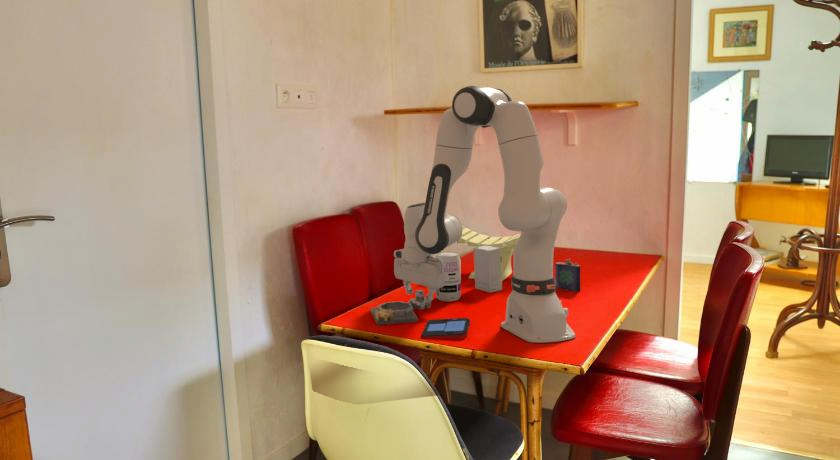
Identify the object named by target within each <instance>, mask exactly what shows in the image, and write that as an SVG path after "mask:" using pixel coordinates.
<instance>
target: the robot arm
mask: <svg viewBox="0 0 840 460" xmlns="http://www.w3.org/2000/svg"><path fill="white" fill-rule="evenodd" d="M479 128H482V129H483V128H492V129H493V130H494V131H495V135H496V140H497V144H498V149H499V153H500V158H501V162H502V168H503V174H504V175H503V176H504V185H503V186H504V187H503V195H502V199H501V202H500V203H499V205H498V210H497V215H498V220H499V221H500V223H501V225H502V226H503V227H504V228H505V229H507V230H509V231H512V232H520V234H521V235H520V238H519V240H518V242H517V244H516V245H515V248H514V251H513V254H512V256H513V257H512V260H513V270H512V273H513V275H511V276H512V277H511V281H510V282H511V289H512V291H511V293H510V294H509V295H508V297H506V298H507V299H506V305H505V306H506V307H505V320H504V321H502V322H501V324H500V327H501V328H502V329H504V330H506V331H507V332H510V333H511V334H513V335H515V336H517V337H518V338H520V339H522V340H524V341H526V342H529V343H555V342H562V341H567V340H569V341H570V340H572V339H574V338H576V333H575V332H574V330H573V329H572V328H571V327H570V325H569V324H568V323H567V317H569V309H568V308H567V307H563V305H562V304H563V302H562V300H560V298H559V297H558V295H557V293H556V291H557V288H556V287H555V285H556V284H555V276H554V250H555V244H556V239H557V236H558V232H559V229H560V225H561V222H562V219H563V217H564V216H565V214H566V212H567V209H568V201H567V198H566V196H565V195H564V194H563V193H562V191H560V190H559V189H556V188H552V187H550V186H549V187H548V186H542V187H541V184H540V182H541V181H540V180H541V172H542V169H543V167H544V156H543V152H542V148H541V144H540V141H539V140H540V139H539V136H538V132H537V131H538V130H537V128H536V125H535V122H534V118H533V116H532V114H531V111H530V109H529V107H528V106H527V104H526V103H525V102H522V101H521V100H512V98H511V96H510V95H509V94H508V93H507V92H506V91H505V90H502V89H500V88H494V87H489V86H488V85H487V86H485V85H468V86H465V87H462V88H461V89H459V90H458V91H457V92H456V93H455V94H454V96H453V98H452V101H451V108H448V109H446V110H444V112H443V113H442V115H441V117H440V121H439V124H438V128H437V132H436V133H437V134H436V137H435V138H436V139H435V147H434V156H433V163H432V168H431V172H430V178H429V182H428V186H427V191H426V197H425V202H419V203H418V202H417V203H415V204H411V205H408V206H407V208H406V209H405V212H404V218H403V219H404V222H403V224H404V225H403V229H404V231H403V232H404V236H405V241H404V247H403V248H402V249H397V250H394V252H393V256H394V262H393V272H394V273H393V274H394V276H395V279H398V280H402V284H403V285H404V288H405V294H406V295H409V296H411V295H413V293H414V288H412V286H411V283H413V284H416V285H420V286H423V287H427V290H428V293H427V294H426V293H425V298H426V300H429V301H430V300H431V301H433V300H434V294H435V293H436V289H438V288H442V287H443V286H444V285H445V277H444V270H443V265H442V263H441V261H440V260H439V259H438V258H436V257H434V255H437V254H438V253H441V252H443V251H444V250H445V249H446V248H449V247H451V246H452V245H453V244H455V243H457V241H458V240H459V239H460V237H461V235H462V226H463V223H462V222H461V221H460V220H459V217H457V216H455V215H453V214H448V213H447V207H448V202H449V197H450V192H451V190H452V188H453V186H454V185H455V183H456V182H457V181H458V180H459V179H460V178H461V177H462V176H463V175H464V174H465V173H466V172H468V171H467V170H468V169H469V166H470V163H471V160H472V156H473V146H474V138H475V134H476V131H477V130H478V129H479Z"/></svg>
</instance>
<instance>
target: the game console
mask: <svg viewBox="0 0 840 460" xmlns="http://www.w3.org/2000/svg"><path fill="white" fill-rule="evenodd" d="M470 326H471V319H470V318H467V317H457V318H456V317H455V318H439V319H438V318H436V319H428V320H427V321H426V323H425V326H424V328H423V331H422V332H421V334H420V339H426V340H427V339H430V340H431V339H432V340H435V339H436V340H464V339H467V337H468V332H469V328H470Z"/></svg>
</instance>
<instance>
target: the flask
mask: <svg viewBox="0 0 840 460" xmlns="http://www.w3.org/2000/svg"><path fill="white" fill-rule="evenodd" d="M554 267H555V269H554V270H555V271H554V280H555V284H556V285H555V287H556V290H557V289H558V290H563V291H569V292H575V293H577V292H578V293H580V292H581V265H580V264H577V263H576V262H575V263H573V262H572V261H571V258H567V259H565V262H556V263H555V264H554Z"/></svg>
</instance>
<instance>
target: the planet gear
mask: <svg viewBox="0 0 840 460" xmlns="http://www.w3.org/2000/svg"><path fill="white" fill-rule="evenodd" d="M414 297H415V298H410V299H409V300H408V303H411V305H412V306H413V310H417V309H418V310H425V309H430V308H431V306H432V300H430V301H429V300H426V296H425V290H424V289H416V290H415V291H414Z"/></svg>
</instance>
